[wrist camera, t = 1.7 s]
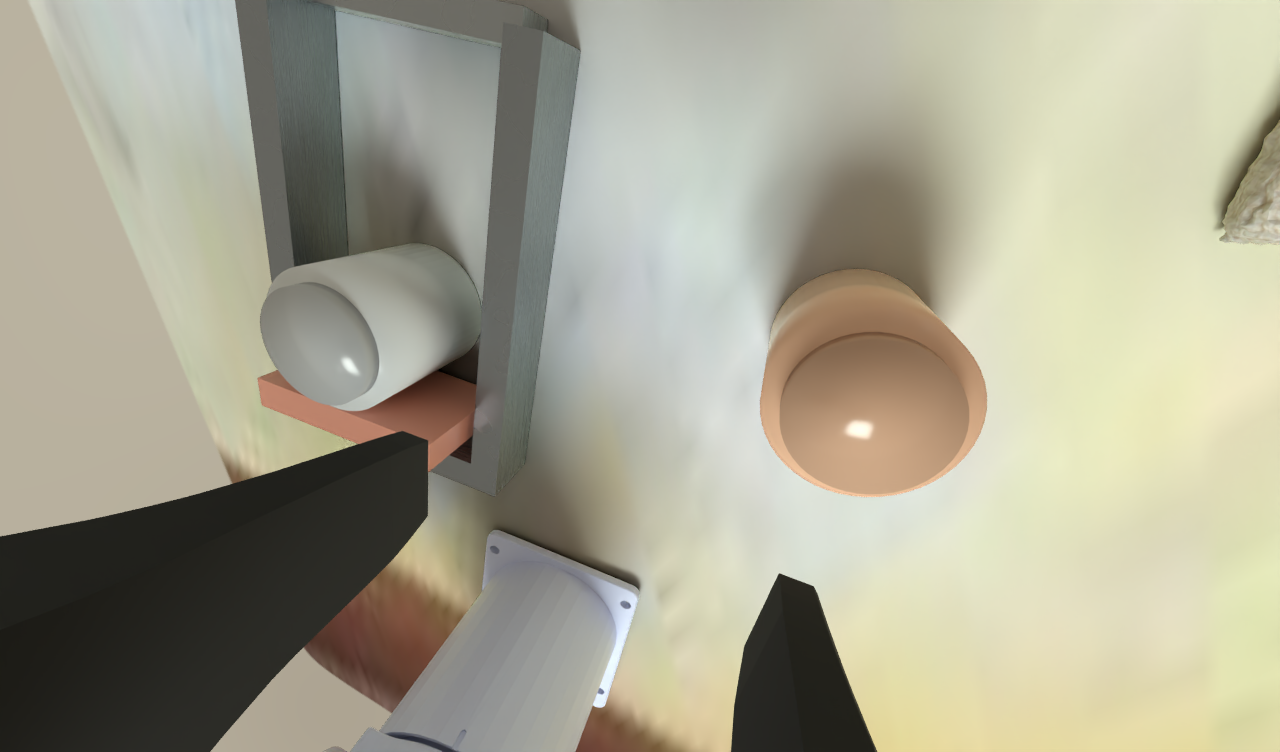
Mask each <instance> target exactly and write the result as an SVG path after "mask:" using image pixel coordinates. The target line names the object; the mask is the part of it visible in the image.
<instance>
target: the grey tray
mask: <svg viewBox="0 0 1280 752" xmlns="http://www.w3.org/2000/svg"><path fill="white" fill-rule="evenodd" d="M235 2H236V10H237V18H238V25H239V33H240V41H241V49H242V56H243V64H244V72H245V79H246V87H247V95H248V103H249V110H250V118H251V126H252V133H253V141H254V149H255V157H256V164H257V172H258V180H259V187H260V195H261V203H262V211H263V218H264V226H265V234H266V241H267V249H268V257H269V265H270V272H271V280H272V282H273V281H274V280H275V278H276V277H277V276H278V275H279V274H281V273H282V272H283V271H285V270H287V269H289V268H292V267H296V266H301V265H306V264H311V263H316V262H321V261H326V260H331V259H336V258H341V257H346V256H348V247H347V229H346V211H345V193H344V175H343V157H342V139H341V121H340V103H339V85H338V67H337V49H336V31H335V13H334V10H336V11H340V12H344V13H349V14H353V15H358V16H362V17H366V18H371V19H375V20H380V21H384V22H389V23H393V24H397V25H402V26H406V27H411V28H415V29H419V30H424V31H428V32H433V33H437V34H442V35H446V36H450V37H455V38H459V39H464V40H468V41H472V42H477V43H481V44H486V45H490V46H495V47H499V48H501V59H500V73H499V86H498V100H497V114H496V127H495V141H494V155H493V168H492V182H491V195H490V209H489V223H488V236H487V250H486V264H485V277H484V291H483V305H482V318H481V332H480V346H479V359H478V373H477V387H476V400H475V414H474V428H473V436H471V437H470V438H469V439H468V440H467V441H465V442H464V443H463V444H462V445H461V446H459V447H458V448H457V449H456V450H455V451H453V452H452V453H451V454H450V455H449V456H447V457H446V458H445V459H444V460H443V461H441V462H440V463H439V464H438V465H437V466H435V467H434V468H433V469H432V470H431V472H434V473H436V474H439V475H441V476H444V477H446V478H449V479H452V480H454V481H457V482H459V483H462V484H464V485H467V486H469V487H472V488H474V489H477V490H479V491H482V492H484V493H487V494H489V495H492V496H494V497H495V496H496V495H497V494H498V493H499V492H500V490H501V489H502V488H503V487H504V486H505V485H506V484H507V483H508V482H509V481H510V479H511V478H512V477H513V476H514V475H515V474H516V473H517V472H518V471H519V470H520V468H521V467H522V466H523V465H524V464H525V457H526V450H527V442H528V435H529V428H530V420H531V413H532V405H533V398H534V391H535V383H536V376H537V368H538V361H539V354H540V346H541V339H542V331H543V324H544V317H545V309H546V302H547V295H548V287H549V280H550V272H551V265H552V258H553V250H554V243H555V235H556V228H557V221H558V213H559V206H560V199H561V191H562V184H563V176H564V169H565V162H566V154H567V147H568V139H569V132H570V125H571V117H572V110H573V102H574V95H575V88H576V80H577V73H578V66H579V58H580V50H578V49H577V48H575V47H573V46H571V45H569V44H567V43H565V42H563V41H562V40H560V39H558V38H556V37H554V36H552V35H550V34H548V33H547V24H548V20H547V19H545V18H544V17H542V16H540V15H539V14H537V13H535V12H533V11H532V10H530V9H528V8H527V7H525V6H522V5H517V4H512V3H508V2H503V1H498V0H235Z"/></svg>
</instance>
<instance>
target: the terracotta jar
mask: <svg viewBox="0 0 1280 752" xmlns="http://www.w3.org/2000/svg"><path fill="white" fill-rule="evenodd" d="M986 410H987V392H986V386H985V381H984V378H983V375H982V373H981V370H980V368H979V366H978V364H977V362H976V361H975V359H974V357H973V356H972V354H971V353H970V352H969V351H968V349H967V348H966V347H965V346H964V345H963V344H962V342H961V341H960V340H959V339H958V338H957V337H956V336H955V335H954V334H953V333H952V332H951V331H950V330H949V329H948V327H947V326H946V325H945V324H944V323H943V322H942V321H941V320H940V319H939V318H938V317H937V316H936V315H935V314H934V312H933V311H932V310H931V309H930V308H929V307H928V306H927V305H926V304H925V303H924V302H923V301H922V300H921V298H920V297H919V296H918V295H917V294H916V293H915V292H914V291H913V290H912V289H911V288H909V287H908V286H907V285H906V284H904V283H903V282H901V281H900V280H898V279H896V278H894V277H892V276H890V275H887V274H884V273H881V272H878V271H873V270H868V269H844V270H838V271H833V272H830V273H826V274H823V275H821V276H819V277H816V278H814V279H812V280H810V281H809V282H807V283H805V284H804V285H802V286H801V287H800V288H798V289H797V290H796V291H795V292H794V293H793V294H792V295H791V296H790V297H789V298H788V299H787V300H786V301H785V303H784V304H783V305H782V307H781V308H780V310H779V311H778V313H777V315H776V317H775V320H774V322H773V325H772V329H771V333H770V340H769V346H768V353H767V359H766V365H765V372H764V378H763V385H762V391H761V398H760V415H761V421H762V426H763V429H764V432H765V435H766V437H767V439H768V441H769V443H770V445H771V447H772V448H773V450H774V451H775V453H776V454H777V456H778V457H779V458H780V459H781V460H782V461H783V463H784V464H785V465H787V466H788V467H789V468H790V469H791V470H792V471H793V472H795V473H796V474H797V475H799V476H800V477H802V478H803V479H805V480H807V481H809V482H810V483H812V484H814V485H816V486H819V487H821V488H824V489H826V490H829V491H833V492H836V493H840V494H845V495H851V496H861V497H881V496H890V495H896V494H901V493H905V492H909V491H912V490H915V489H918V488H921V487H923V486H925V485H927V484H929V483H931V482H934V481H935V480H937V479H939V478H940V477H942V476H943V475H945V474H946V473H948V472H949V471H950V470H952V469H953V468H954V467H955V466H957V464H958V463H959V462H960V461H961V460H962V459H963V458H964V457H965V456H966V455H967V454H968V452H969V451H970V450H971V448H972V447H973V446H974V444H975V442H976V440H977V438H978V437H979V435H980V433H981V430H982V427H983V424H984V421H985V416H986Z"/></svg>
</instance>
